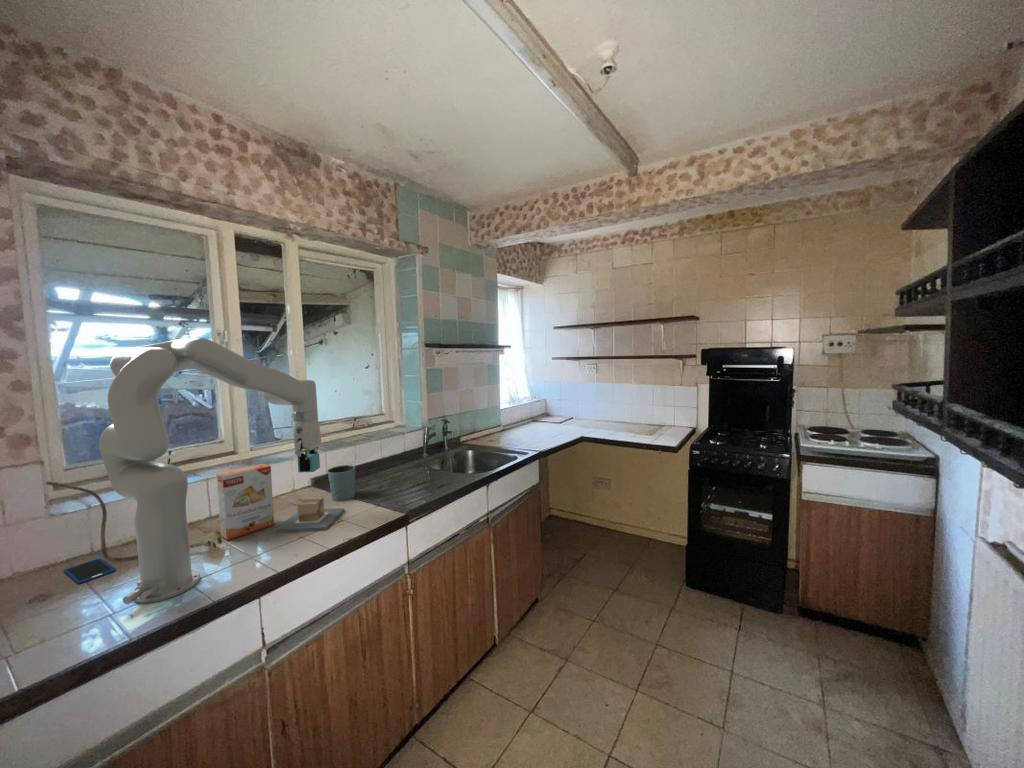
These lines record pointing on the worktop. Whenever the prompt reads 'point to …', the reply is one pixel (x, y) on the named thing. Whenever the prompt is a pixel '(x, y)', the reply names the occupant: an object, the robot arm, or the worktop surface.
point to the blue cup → (342, 482)
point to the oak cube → (311, 509)
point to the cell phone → (89, 571)
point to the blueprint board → (311, 522)
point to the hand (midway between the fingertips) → (309, 467)
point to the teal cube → (312, 463)
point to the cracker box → (245, 500)
